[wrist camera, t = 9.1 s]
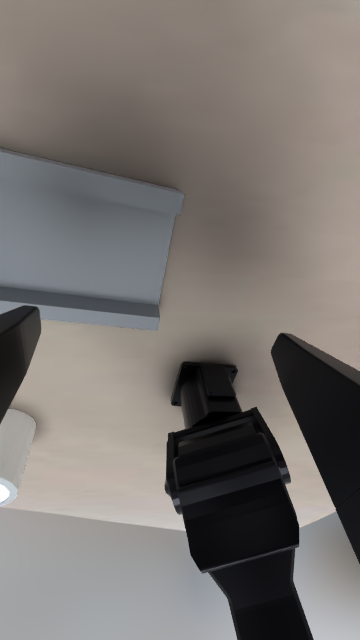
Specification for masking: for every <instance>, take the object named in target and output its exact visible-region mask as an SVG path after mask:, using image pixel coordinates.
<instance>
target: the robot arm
mask: <svg viewBox="0 0 360 640" xmlns="http://www.w3.org/2000/svg"><path fill="white" fill-rule="evenodd" d="M40 334H41V320H40V310H39V308H38V307H37V306H29V305H23V306H20V307H18V308H15V309H13V310H10V311H8V312H5V313H2V314H0V424H1V422H2V420H3V418H4V416H5V414H6V412H7V410H8V408H9V406H10V404H11V402H12V400H13V399H14V397H15V395H16V393H17V391H18V389H19V387H20V385H21V383H22V381H23V379H24V377H25V375H26V373H27V370H28V368H29V365H30V362H31V359H32V356H33V354H34V351H35V348H36V345H37V342H38V340H39V337H40ZM271 355H272V358H273V361H274V364H275V367H276V370H277V374H278V377H279V380H280V383H281V385H282V388H283V390H284V393H285V395H286V397H287V400H288V402H289V404H290V406H291V409H292V411H293V413H294V415H295V418H296V420H297V422H298V424H299V427H300V429H301V431H302V434H303V436H304V438H305V440H306V443H307V445H308V447H309V449H310V452H311V454H312V456H313V459H314V461H315V463H316V465H317V468H318V470H319V472H320V474H321V477H322V479H323V481H324V483H325V486H326V488H327V490H328V493H329V495H330V497H331V499H332V502H333V504H334V506H335V508H336V511H337V513H338V516H339V518H340V520H341V523H342V525H343V527H344V529H345V531H346V534H347V536H348V538H349V541H350V543H351V545H352V548H353V550H354V552H355V554H356V557H357V559H358V561H359V564H360V371H358V370H356V369H355V368H353V367H351V366H349V365H347V364H345V363H343V362H342V361H340V360H338V359H336V358H334V357H332V356H331V355H329V354H327V353H325V352H323V351H321V350H320V349H318V348H316V347H314V346H312V345H310V344H308V343H307V342H305V341H303V340H301V339H299V338H297V337H296V336H294V335H292V334H288V333H280V334H279V335H278V337H277V339H276V341H275V343H274V345H273V347H272V349H271ZM184 367H186V368H184ZM232 370H233V371H232ZM237 372H238V370H237V368H236V366H231V365H217V364H202V363H188V362H185V363H182V364H181V367H180V370H179V374H178V377H177V381H176V384H175V388H174V391H173V395H172V398H171V404H172V405H173V406H182V412H183V418H184V424H185V429H184V430H181V431H178V432H171V433H168V441H167V461H166V481H165V491H166V493H167V494H168V495H169V496H170V497H171V499H172V501H173V504H174V507H175V510H176V512H177V513H178V514H179V515H180V514H182V515H183V519H184V524H185V528H186V533H187V537H188V542H189V548H190V554H191V556H192V558H193V560H194V561H195V563H196V565H197V566H198V568H199V570H200V571H201V572H202V573H206V572H208V573H209V574H210V575H211V577H212V578H213V579H214V581H215V582H216V583H217V585H218V586H219V587H220V589H221V590H222V591H223V593H224V594H225V595H226V597H227V599H228V602H229V606H230V610H231V614H232V618H233V623H234V627H235V631H236V635H237V640H313V637H312V634H311V631H310V628H309V625H308V622H307V620H306V617H305V614H304V611H303V608H302V605H301V602H300V600H299V597H298V594H297V591H296V588H295V585H294V582H293V571H294V557H295V548H297V547H299V524H298V521H297V516H296V512H295V510H294V507H293V504H292V502H291V499H290V496H289V494H288V491H287V489H286V486H285V484H288V483H291V479H290V474H289V471H288V468H287V465H286V462H285V460H284V457H283V455H282V452H281V450H280V448H279V446H278V444H277V442H276V440H275V438H274V436H273V434H272V433H271V431H270V429H269V428H268V426H267V424H266V423H265V421H264V419H263V417H262V416H261V414H260V412H259V411H258V409H257V407H254V408H251V410H248V411H245V412H242V410H241V407H240V405H239V402H238V400H237V398H236V393H235V390H234V388H233V385H232V383H233V381H234V379H235V376H236V374H237Z"/></svg>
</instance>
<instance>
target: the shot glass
mask: <svg viewBox="0 0 360 640" xmlns="http://www.w3.org/2000/svg"><path fill="white" fill-rule="evenodd" d="M35 430H36V423H35V421H34V419H33V418H32V417H31V416H29V415H28V414H26V413H24V412H21V411H19V410H15V409H8V410H7V412H6V414H5V416H4V418H3V420H2V422H1V424H0V506H3V505H6V504H8V503H10V502H12V501H13V500H14V499H15V498H16V497H17V495H18V491H19V487H20V484H21V480H22V477H23V473H24V470H25V466H26V462H27V459H28V455H29V452H30V448H31V445H32V441H33V437H34V434H35Z"/></svg>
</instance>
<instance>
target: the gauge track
mask: <svg viewBox="0 0 360 640" xmlns="http://www.w3.org/2000/svg"><path fill="white" fill-rule="evenodd" d="M183 200H184V194H183V193H182V192H180V191H179V190H177V189H173V188H168V187H164V186H160V185H156V184H151V183H147V182H143V181H139V180H134V179H130V178H126V177H121V176H117V175H113V174H109V173H104V172H100V171H96V170H92V169H87V168H83V167H79V166H74V165H70V164H66V163H62V162H57V161H53V160H49V159H45V158H40V157H36V156H32V155H27V154H23V153H19V152H15V151H10V150H6V149H2V148H0V314H2V313H5V312H8V311H10V310H13V309H15V308H18V307H20V306H23V305H29V306H37V307H38V308H39V310H40V319H43V320H54V321H64V322H74V323H85V324H95V325H105V326H115V327H126V328H136V329H146V330H156V331H157V330H158V325H159V320H160V315H159V308H158V304H159V299H160V294H161V288H162V283H163V278H164V273H165V268H166V262H167V257H168V252H169V247H170V241H171V236H172V231H173V226H174V220H175V215H181V210H182V205H183Z"/></svg>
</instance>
